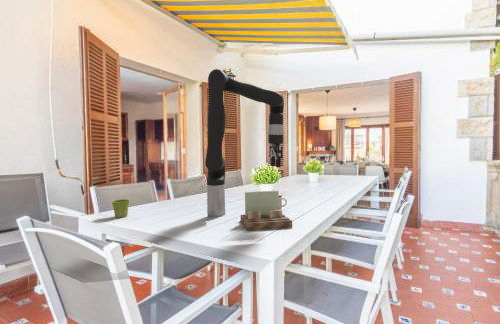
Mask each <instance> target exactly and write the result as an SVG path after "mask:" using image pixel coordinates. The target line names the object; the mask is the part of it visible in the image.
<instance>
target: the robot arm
mask: <svg viewBox="0 0 500 324" xmlns="http://www.w3.org/2000/svg"><path fill="white" fill-rule="evenodd" d="M207 85H208V107H207V126H206V128H207V132H206V134H207V138H206V139H207V149H206V156H205V161H204V162H205V167H206V169H207V178H206V196H207V197H206V198H207V199H206V216H207V218H212V217H213V218H215V217H218V218H219V217H224V216H225V215H226V190H225V189H226V186H225V185H226V181H225V180H226V160H225V158H224V156H223V142H224V141H223V140H224V137H225V131H226V123H227V122H226V121H227V116H226V109H225V108H226V107H225V103H224V92H228V93H232V94H235V95H239V96H241V97H243V98H245V99H249V100H252V101H255V102H258V103H263V104H265V105H268V106H269V107H270V108H269V113H270V114H269V116H268V117H269V118H268V131H267V132H268V133H267V134H268V135H267V137H268V141H267V142H268V144H271V145H269V152H268V153H269V154H268V155H269V158H270V166H271V167H275V168H281V164H282V163H281V160H282V159H283V158H284V157H283V151H284V149H283V144H284V133H285V131H284V130H285V129H284V106H285V100H284V97H283V96H282V94H281V93H279V92H277V91H273V90H269V89H266V88H262V87H260V86H257V85H254V84H252V83H246V82H242V81H238V80H236V79H233V78H231V77H230V76H229V75H227V74H226V73H225V72H224V71H222V70H221V69H219V68H214V69H213V70H211V71H210V73H208V75H207Z"/></svg>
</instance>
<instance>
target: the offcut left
mask: <svg viewBox="0 0 500 324" xmlns="http://www.w3.org/2000/svg"><path fill="white" fill-rule="evenodd" d="M260 218H261V211H249V212H248V219H260Z"/></svg>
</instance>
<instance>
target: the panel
mask: <svg viewBox="0 0 500 324" xmlns="http://www.w3.org/2000/svg"><path fill="white" fill-rule="evenodd" d="M279 194H280V192H279V190H276V191H272V190H262V191H245V192H244V215H245V216H248V212H249V211H261V215H270V212H269V210H279Z"/></svg>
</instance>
